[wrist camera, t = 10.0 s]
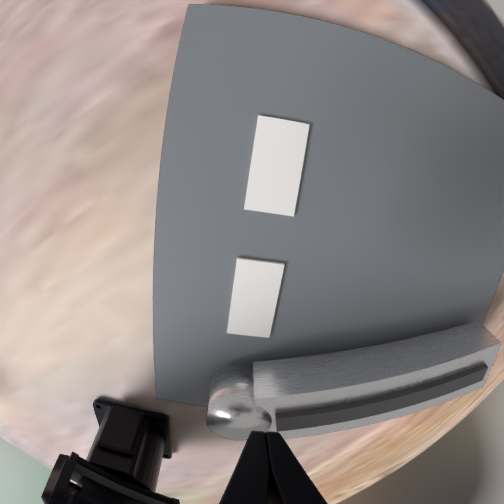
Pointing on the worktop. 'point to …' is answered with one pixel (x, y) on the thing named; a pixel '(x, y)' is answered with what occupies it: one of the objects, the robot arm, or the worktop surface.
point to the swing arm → (350, 385)
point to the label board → (316, 196)
